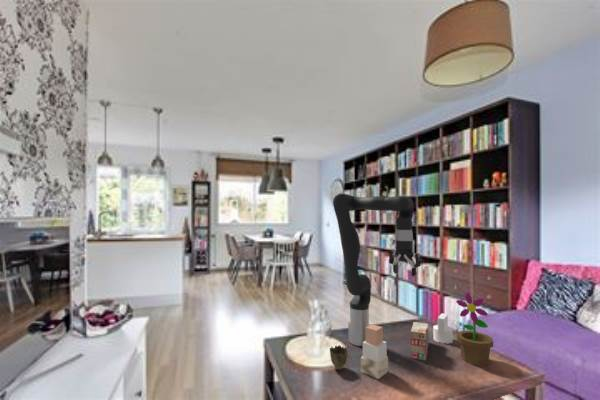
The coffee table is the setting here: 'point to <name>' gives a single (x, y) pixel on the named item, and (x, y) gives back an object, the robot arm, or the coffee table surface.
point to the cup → (338, 356)
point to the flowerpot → (474, 335)
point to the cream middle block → (375, 351)
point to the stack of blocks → (419, 341)
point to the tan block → (374, 334)
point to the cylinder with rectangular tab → (443, 330)
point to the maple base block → (374, 367)
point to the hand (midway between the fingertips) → (404, 274)
